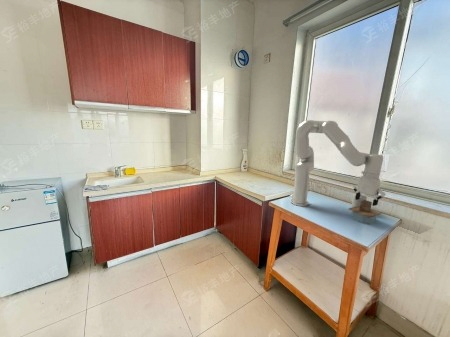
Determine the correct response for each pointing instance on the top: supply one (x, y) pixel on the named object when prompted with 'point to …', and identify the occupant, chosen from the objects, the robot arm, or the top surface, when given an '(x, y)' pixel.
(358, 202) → the can
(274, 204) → the top surface
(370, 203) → the lid
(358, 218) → the bowl
